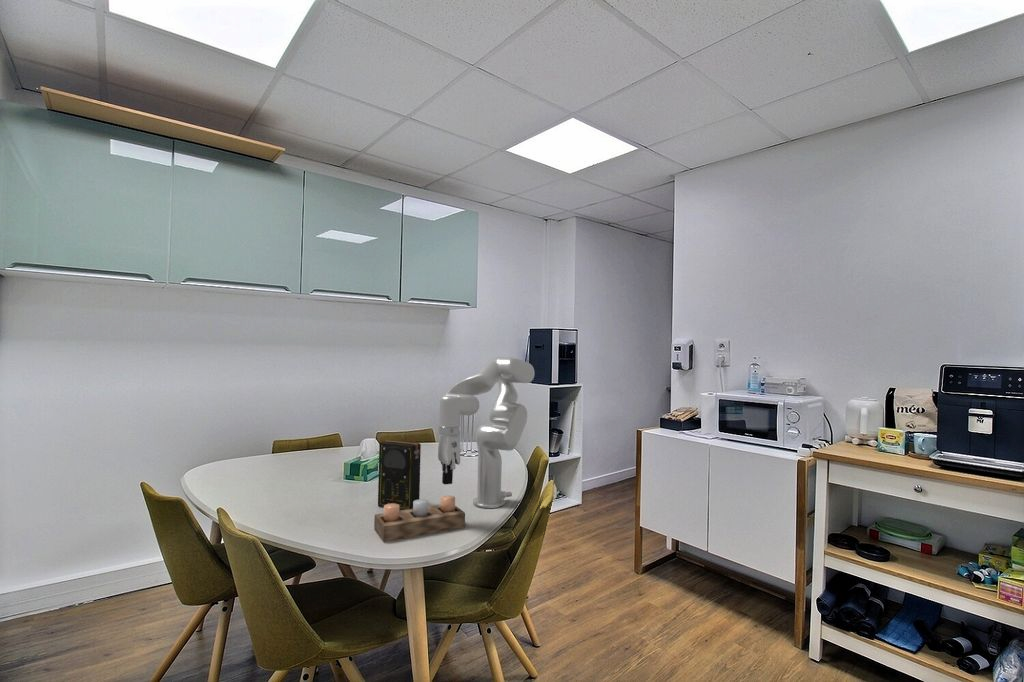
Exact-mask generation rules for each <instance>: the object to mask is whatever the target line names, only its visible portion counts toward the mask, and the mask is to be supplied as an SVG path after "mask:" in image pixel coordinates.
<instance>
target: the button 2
mask: <svg viewBox="0 0 1024 682" xmlns="http://www.w3.org/2000/svg"><path fill="white" fill-rule="evenodd" d="M440 505H441V512H442V513H448V512H454V511H455V506H456V497H455V496H454V495H448V494H447V495H442V496H441V497H440Z"/></svg>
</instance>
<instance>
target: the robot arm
mask: <svg viewBox="0 0 1024 682" xmlns="http://www.w3.org/2000/svg"><path fill="white" fill-rule="evenodd" d="M534 378H535V369H534V366H533V364H531V363H529V362H527V361H524V360H521V359H520V358H517V357H513V356H511V357H510V356H509V357H506V356H495V357H491V358H490V359H489V360H488V361H487V362H486V363H485V364H484V365H483V366H481V368H480V369H479V370H478V371H477V373H475V374H474V375H472V376H470V377H467V378H465V379H464V380H461V381H458V382H457V383H456V384H454V385H452V387H450V389H449V390H448V391H447V392H446V393H445V394H444V395H442V396H441V397H440V399H439V408H438V409H439V411H438V433H437V434H438V436H439V439H438V449H437V458H438V459H437V460H438V461H439V462H440V464H441V470H442V474H441V475H442V478H441V481H442V484H443V485H452V484H453V479H454V478H453V477H454V475H453V473H454V470H455V469H456V465H460V464H461V441H460V440H461V439H460V435H461V416H468V417H469V416H473V415H475V414H476V413H477V412H478V411H479V409H480V401H479V399H478V398H477V397H476V396H479V395H483V394H486V393H489V392H490V391H491V390H492V389H493V388H494V387H495V386H496V385H497V384H498V393H497V396H496V398H495V400H494V403H492V406H491V409H490V411H489V413H488V414H489V415H488V418H489V421H490V422H491V423H483V424H481V425H480V426H479V427H478V428H477V430H476V432H475V441H476V446H477V485H476V487H477V488H476V489H477V492H476V495H477V496H476V497H475V498H474V499H473V501H472V503H473V505H474V506H476V507H478V508H483V509H495V508H496V509H497V508H500V507H503V506H504V505H505V502H506V500H505V498H509V497H512V496H513V495H512V493H513V492H512V491H506V490H503V491H502V468H503V467H502V466H503V463H502V462H503V461H502V460H503V459H502V455H501V452H500V451H506V452H510V451H513V450H515V449H516V447H517V446H518V444H519V442H520V439H521V436H522V434H523V433H524V429H525V427H526V424H527V421H528V409H527V407H526V406H525V405H523V404H521V403H517V401H518V397H519V395H518V391H517V390H516V388H515V386H514V384H515V383H516V384H529V383H532V381H533V380H534Z"/></svg>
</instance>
